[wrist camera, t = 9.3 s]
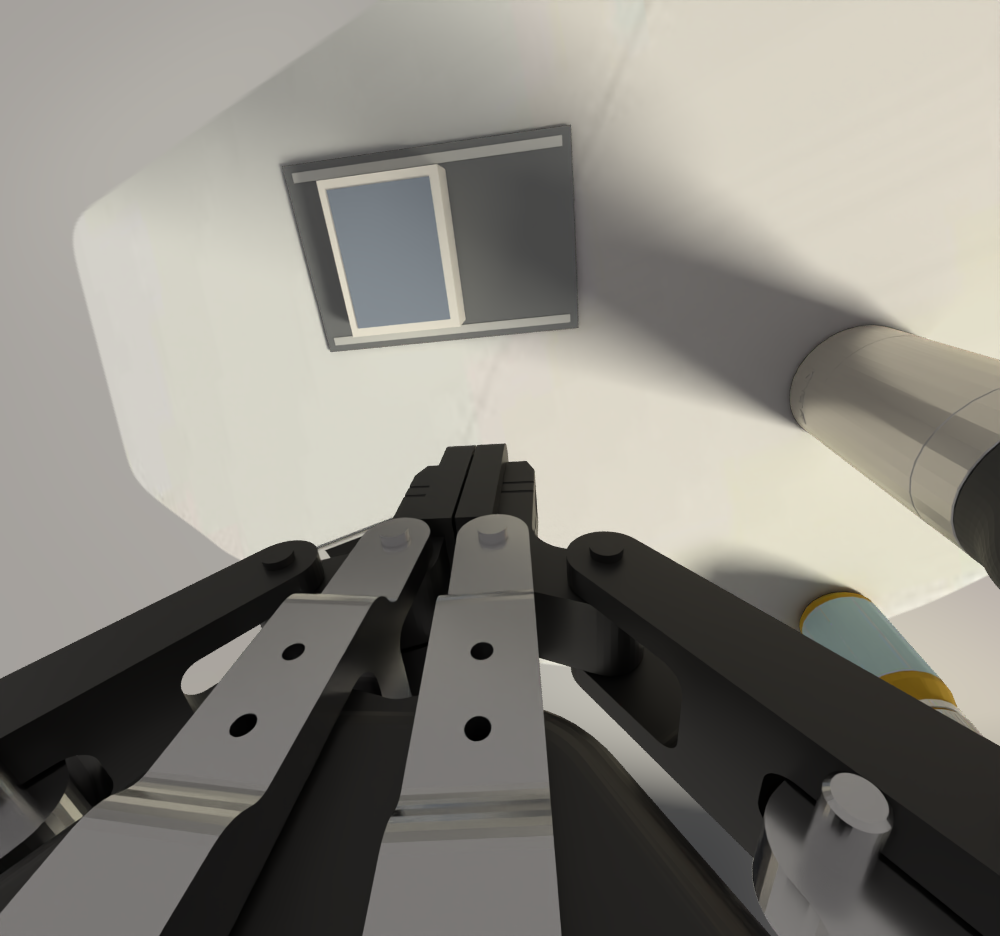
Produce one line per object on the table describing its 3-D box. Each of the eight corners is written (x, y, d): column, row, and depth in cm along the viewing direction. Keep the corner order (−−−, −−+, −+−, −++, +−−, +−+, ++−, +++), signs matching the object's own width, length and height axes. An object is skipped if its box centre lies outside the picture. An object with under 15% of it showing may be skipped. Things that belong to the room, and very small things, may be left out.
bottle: (792, 643, 50) (884, 794, 37) (800, 590, 47) (904, 733, 34) (865, 639, 49) (986, 793, 36) (878, 585, 46) (1016, 731, 33)
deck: (436, 163, 30) (315, 180, 31) (459, 327, 35) (352, 337, 36) (445, 169, 33) (334, 184, 34) (465, 319, 38) (366, 329, 39)
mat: (570, 125, 32) (570, 124, 32) (578, 326, 38) (578, 328, 37) (284, 167, 34) (281, 166, 34) (332, 350, 40) (330, 352, 40)
